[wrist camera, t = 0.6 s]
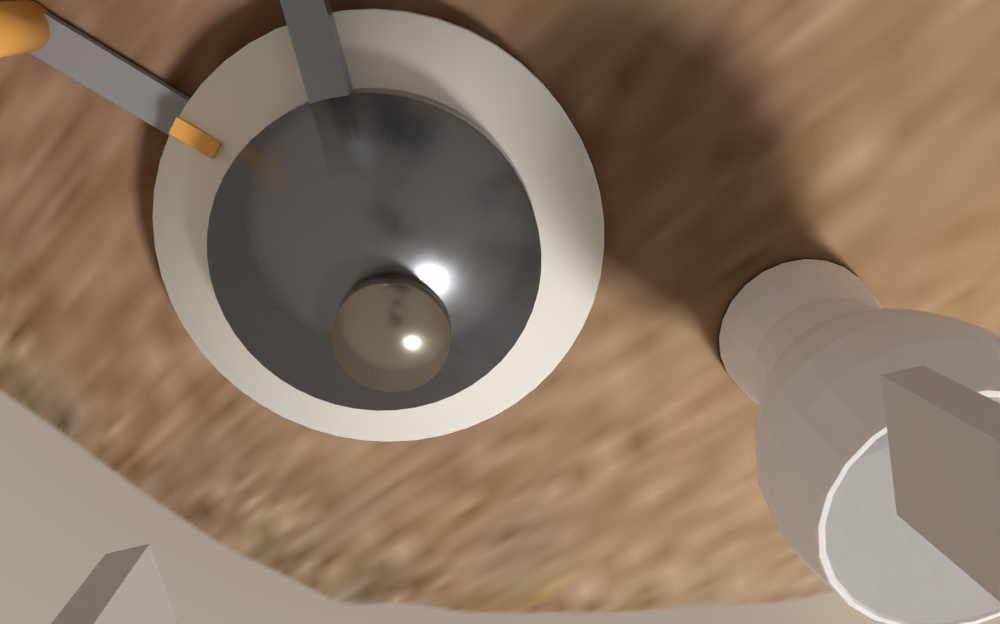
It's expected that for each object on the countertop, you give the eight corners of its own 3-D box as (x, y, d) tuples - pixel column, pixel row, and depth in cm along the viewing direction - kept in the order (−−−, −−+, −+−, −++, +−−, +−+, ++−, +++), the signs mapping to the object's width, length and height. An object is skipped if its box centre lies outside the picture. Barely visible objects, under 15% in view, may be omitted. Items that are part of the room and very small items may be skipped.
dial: (563, 358, 39) (587, 463, 31) (276, 415, 40) (223, 532, 31) (463, -151, 31) (458, -195, 23) (105, -67, 32) (-27, -81, 23)
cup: (685, 432, 43) (786, 653, 29) (693, 235, 39) (815, 382, 25) (889, 420, 43) (1087, 634, 29) (919, 222, 39) (1165, 362, 25)
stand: (300, -265, 31) (262, -317, 25) (681, 276, 40) (714, 326, 34) (-56, 68, 35) (-156, 86, 30) (359, 492, 44) (343, 568, 38)
